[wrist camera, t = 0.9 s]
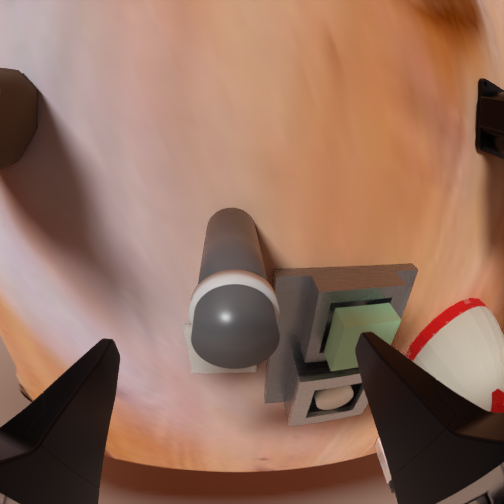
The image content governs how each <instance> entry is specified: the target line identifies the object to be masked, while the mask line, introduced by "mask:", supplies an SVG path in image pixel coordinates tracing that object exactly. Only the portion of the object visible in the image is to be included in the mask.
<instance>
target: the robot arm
mask: <svg viewBox="0 0 504 504" xmlns="http://www.w3.org/2000/svg"><path fill="white" fill-rule="evenodd" d="M476 146H477V148H478V149H479V150H482V151H485V152H488V153H490V154H493V155H496V156H498V157H501V158H503V159H504V90H502V89H501V88H499V87H498V86H496V85H495V84H493V83H491V82H490V81H488V80H486V79H482V78H481V79H480V80H479V113H478V129H477V140H476ZM355 354H356V358H357V363H358V367H359V371H360V376H361V380H362V385H363V388H364V391H365V394H366V397H367V400H368V403H369V406H370V409H371V412H372V415H373V418H374V422H375V425H376V428H377V431H378V434H379V437H380V441H381V444H382V447H383V451H384V454H385V457H386V461H387V464H388V468H389V471H390V475H391V479H392V483H393V487H394V490H395V494H396V498H397V502H398V504H504V412H501V413H495V412H489V411H487V410H484V409H482V408H481V407H479V406H477V405H476V404H474V403H472V402H471V401H469V400H467V399H466V398H464V397H462V396H461V395H459V394H457V393H456V392H454V391H453V390H451V389H450V388H448V387H447V386H446V385H444V384H443V383H441V382H440V381H439V380H437V379H436V378H435V377H433V376H432V375H430V374H429V373H428V372H426V371H425V370H424V369H422V368H421V367H420V366H418V365H417V364H415V363H414V362H413V361H411V360H410V359H409V358H407V357H406V356H405V355H403V354H402V353H400V352H399V351H398V350H396V349H395V348H394V347H392V346H391V345H390V344H388V343H387V342H385V341H384V340H383V339H381V338H380V337H379V336H377V335H376V334H374V333H373V332H371V331H369V332H362V333H361V334H360V336H359V339H358V342H357V345H356V348H355ZM119 364H120V354H119V352H118V349H117V347H116V344H115V342H114V340H113V339H105V338H104V339H102V340H100V341H99V342H98V343H97V344H96V345H95V346H93V347H92V348H91V349H90V350H89V351H88V352H87V353H86V354H84V355H83V356H82V357H81V358H80V359H79V360H78V361H77V362H76V363H74V364H73V365H72V366H71V367H70V368H69V369H68V370H67V371H66V372H64V373H63V374H62V375H61V376H60V377H59V378H58V379H57V380H56V381H55V382H54V383H52V384H51V385H50V386H49V387H48V388H47V389H46V390H45V391H44V392H43V393H42V394H40V395H39V396H38V397H37V398H36V399H35V400H34V401H33V402H32V403H31V404H30V405H28V406H27V407H26V408H25V409H23V410H22V411H21V412H20V413H19V414H17V415H16V416H15V417H13V418H12V419H11V420H9V421H8V422H7V423H6V424H4V425H3V426H2V427H0V504H98V498H99V488H100V480H101V472H102V465H103V458H104V452H105V446H106V441H107V435H108V430H109V425H110V420H111V415H112V410H113V405H114V401H115V396H116V389H117V380H118V372H119Z"/></svg>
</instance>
